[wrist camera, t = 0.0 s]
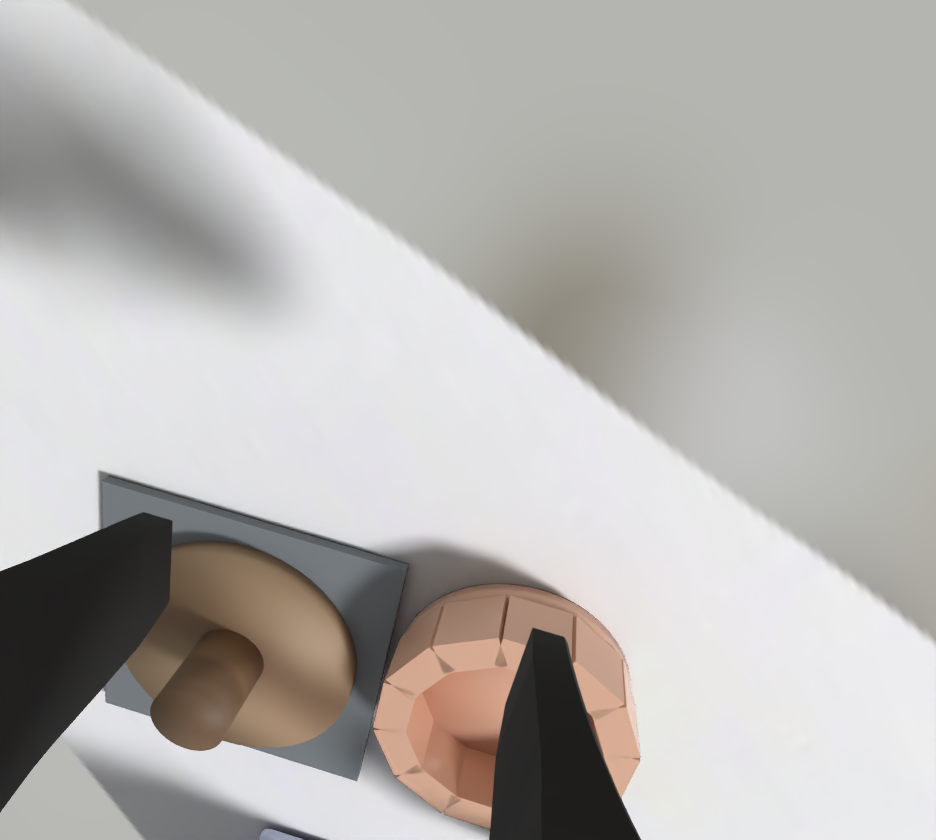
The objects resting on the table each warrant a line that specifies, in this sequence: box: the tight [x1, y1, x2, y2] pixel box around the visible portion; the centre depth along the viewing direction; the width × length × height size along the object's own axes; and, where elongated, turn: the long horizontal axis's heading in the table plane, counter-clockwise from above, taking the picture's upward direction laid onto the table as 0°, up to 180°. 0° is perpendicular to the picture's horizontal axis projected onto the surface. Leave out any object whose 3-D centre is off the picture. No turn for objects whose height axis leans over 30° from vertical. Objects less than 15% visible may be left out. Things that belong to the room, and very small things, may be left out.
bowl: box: [373, 584, 640, 829], centre depth 25 cm, size 9×9×3 cm
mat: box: [102, 476, 409, 781], centre depth 27 cm, size 12×12×1 cm
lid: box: [125, 541, 357, 751], centre depth 25 cm, size 10×10×4 cm
